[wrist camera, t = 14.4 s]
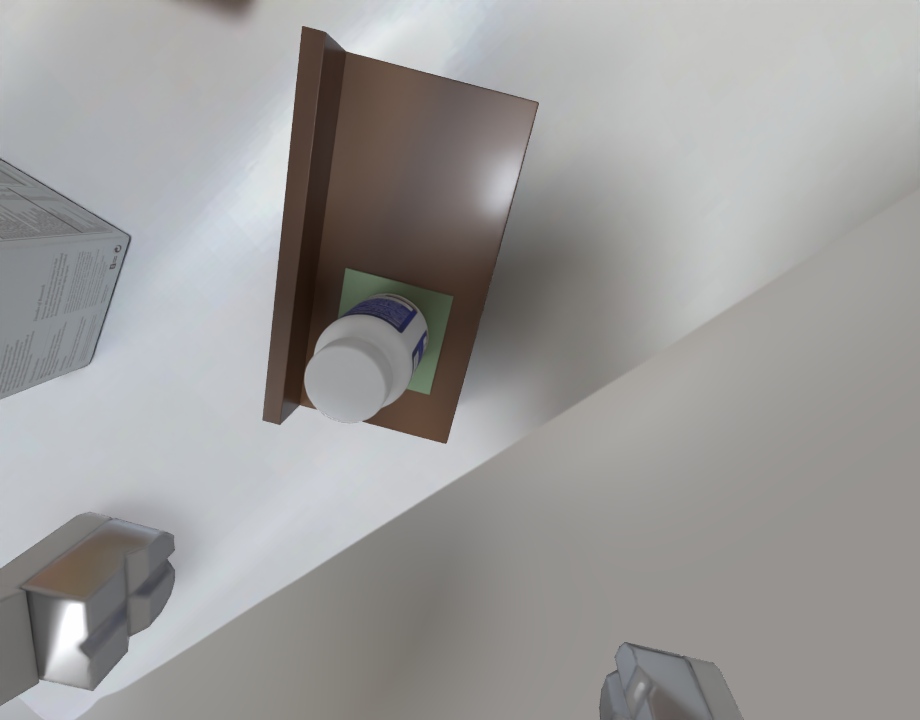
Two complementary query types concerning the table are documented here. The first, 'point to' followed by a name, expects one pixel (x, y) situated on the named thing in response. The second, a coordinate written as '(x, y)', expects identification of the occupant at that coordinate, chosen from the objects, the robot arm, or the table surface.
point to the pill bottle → (366, 358)
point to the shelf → (391, 217)
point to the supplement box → (50, 281)
